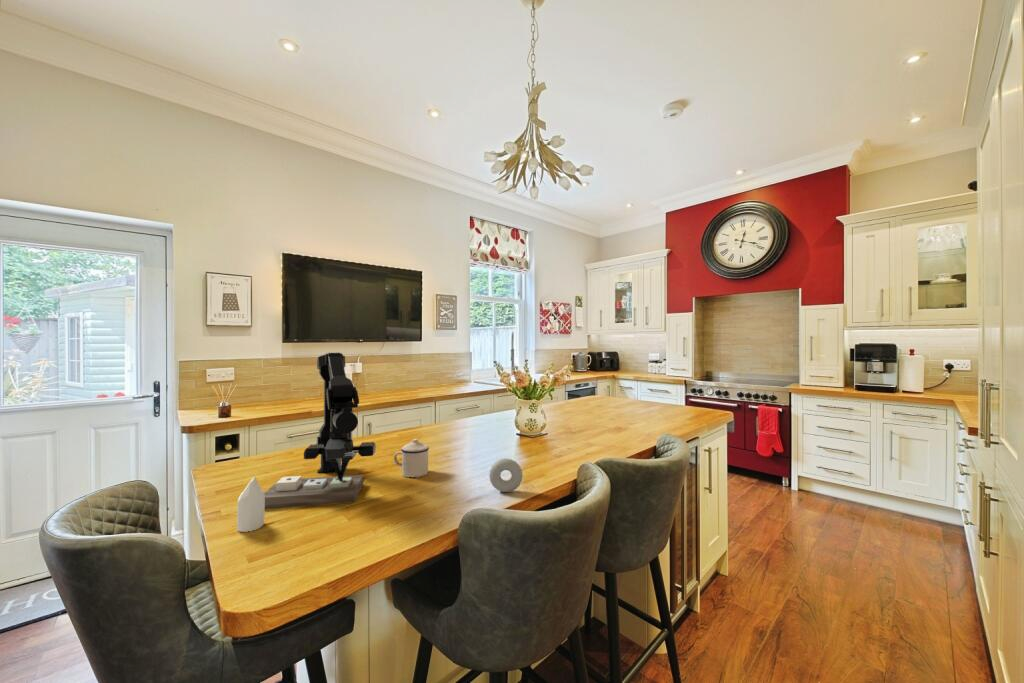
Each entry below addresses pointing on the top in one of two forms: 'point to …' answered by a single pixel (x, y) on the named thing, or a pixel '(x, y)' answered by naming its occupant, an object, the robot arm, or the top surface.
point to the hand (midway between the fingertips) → (340, 479)
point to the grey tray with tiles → (314, 494)
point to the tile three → (341, 482)
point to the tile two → (315, 484)
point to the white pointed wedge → (251, 507)
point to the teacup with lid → (413, 459)
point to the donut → (505, 484)
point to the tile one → (288, 483)
